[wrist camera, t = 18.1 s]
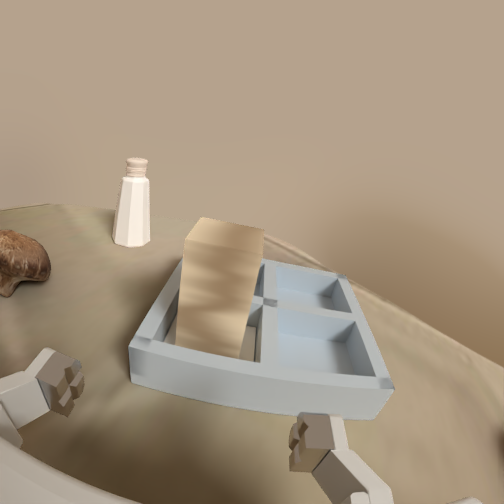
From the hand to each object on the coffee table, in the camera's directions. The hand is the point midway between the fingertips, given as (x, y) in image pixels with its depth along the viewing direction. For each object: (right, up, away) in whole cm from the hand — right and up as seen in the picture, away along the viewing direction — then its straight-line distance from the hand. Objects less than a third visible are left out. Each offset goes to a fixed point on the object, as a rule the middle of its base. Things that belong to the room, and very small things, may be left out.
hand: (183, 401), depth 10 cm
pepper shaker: (-14, +7, +30) cm, 34 cm away
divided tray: (+3, -2, +17) cm, 18 cm away
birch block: (-1, -2, +13) cm, 13 cm away
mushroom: (-21, +2, +15) cm, 26 cm away
